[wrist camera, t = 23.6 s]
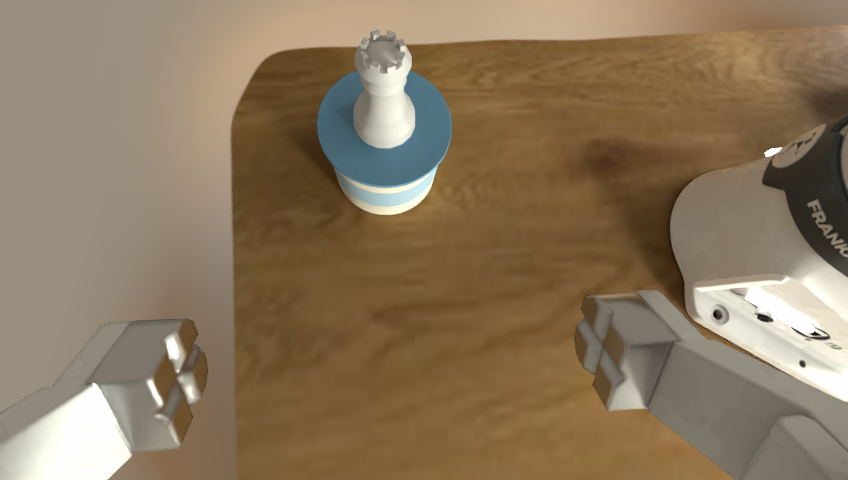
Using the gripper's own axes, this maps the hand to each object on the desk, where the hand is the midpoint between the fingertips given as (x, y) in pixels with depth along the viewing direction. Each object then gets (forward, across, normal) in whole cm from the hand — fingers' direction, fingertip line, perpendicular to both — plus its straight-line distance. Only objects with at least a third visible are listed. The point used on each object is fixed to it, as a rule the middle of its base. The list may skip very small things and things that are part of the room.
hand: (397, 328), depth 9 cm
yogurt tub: (+30, 0, +8) cm, 31 cm away
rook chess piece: (+25, 0, +2) cm, 25 cm away
